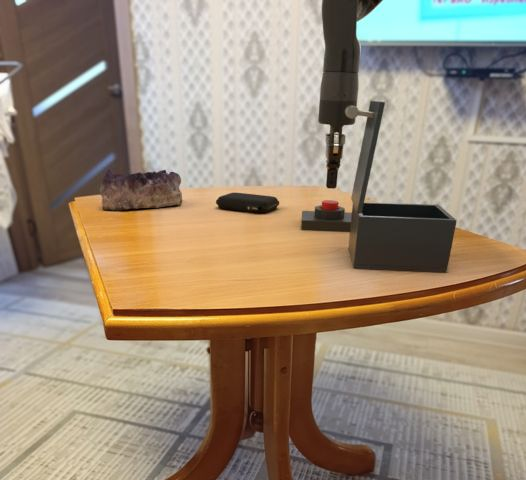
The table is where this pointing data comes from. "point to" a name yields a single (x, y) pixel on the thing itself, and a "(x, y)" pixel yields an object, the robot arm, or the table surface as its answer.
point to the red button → (330, 205)
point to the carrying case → (247, 202)
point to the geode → (140, 190)
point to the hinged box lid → (365, 149)
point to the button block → (326, 220)
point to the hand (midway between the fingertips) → (331, 187)
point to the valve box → (401, 237)
